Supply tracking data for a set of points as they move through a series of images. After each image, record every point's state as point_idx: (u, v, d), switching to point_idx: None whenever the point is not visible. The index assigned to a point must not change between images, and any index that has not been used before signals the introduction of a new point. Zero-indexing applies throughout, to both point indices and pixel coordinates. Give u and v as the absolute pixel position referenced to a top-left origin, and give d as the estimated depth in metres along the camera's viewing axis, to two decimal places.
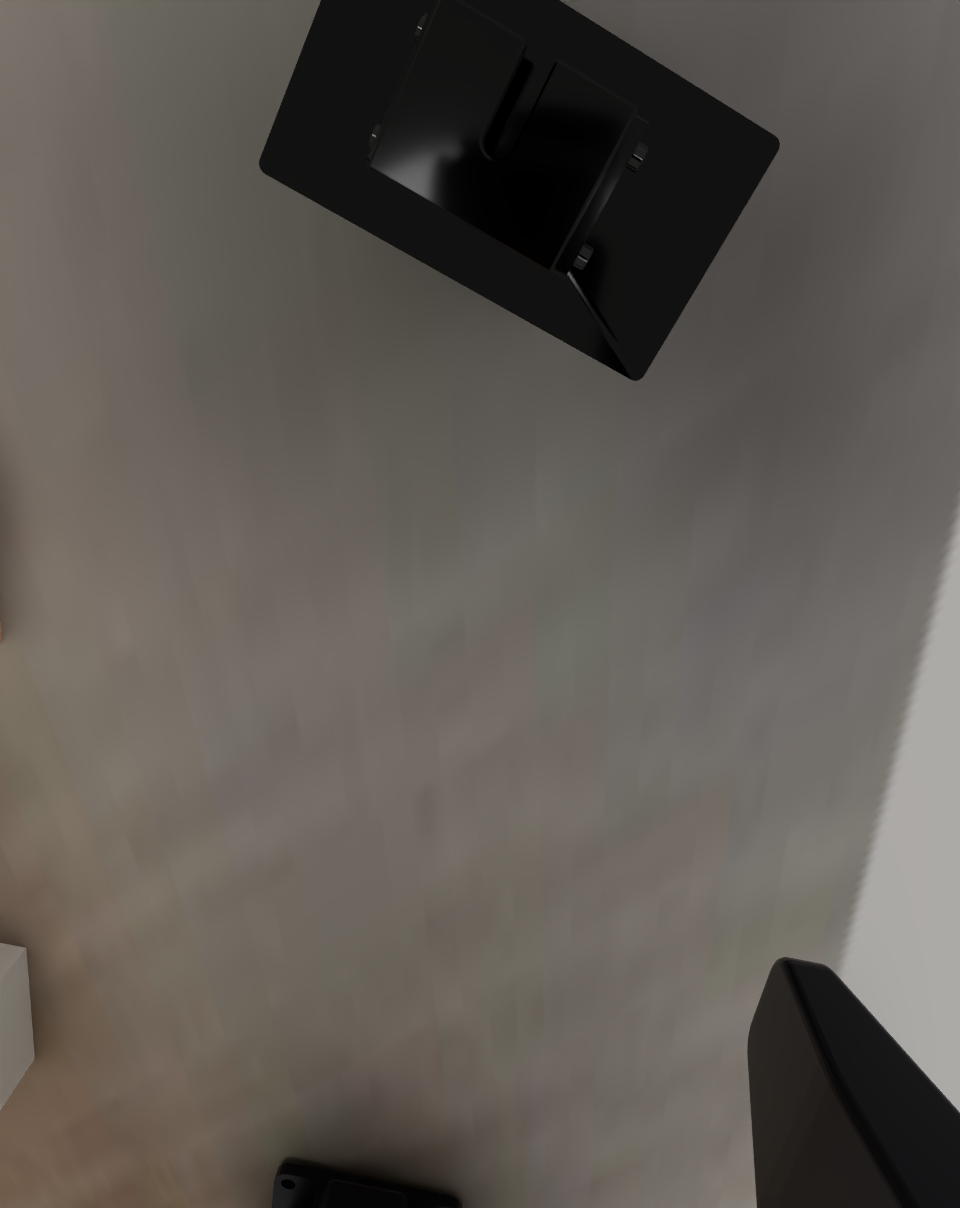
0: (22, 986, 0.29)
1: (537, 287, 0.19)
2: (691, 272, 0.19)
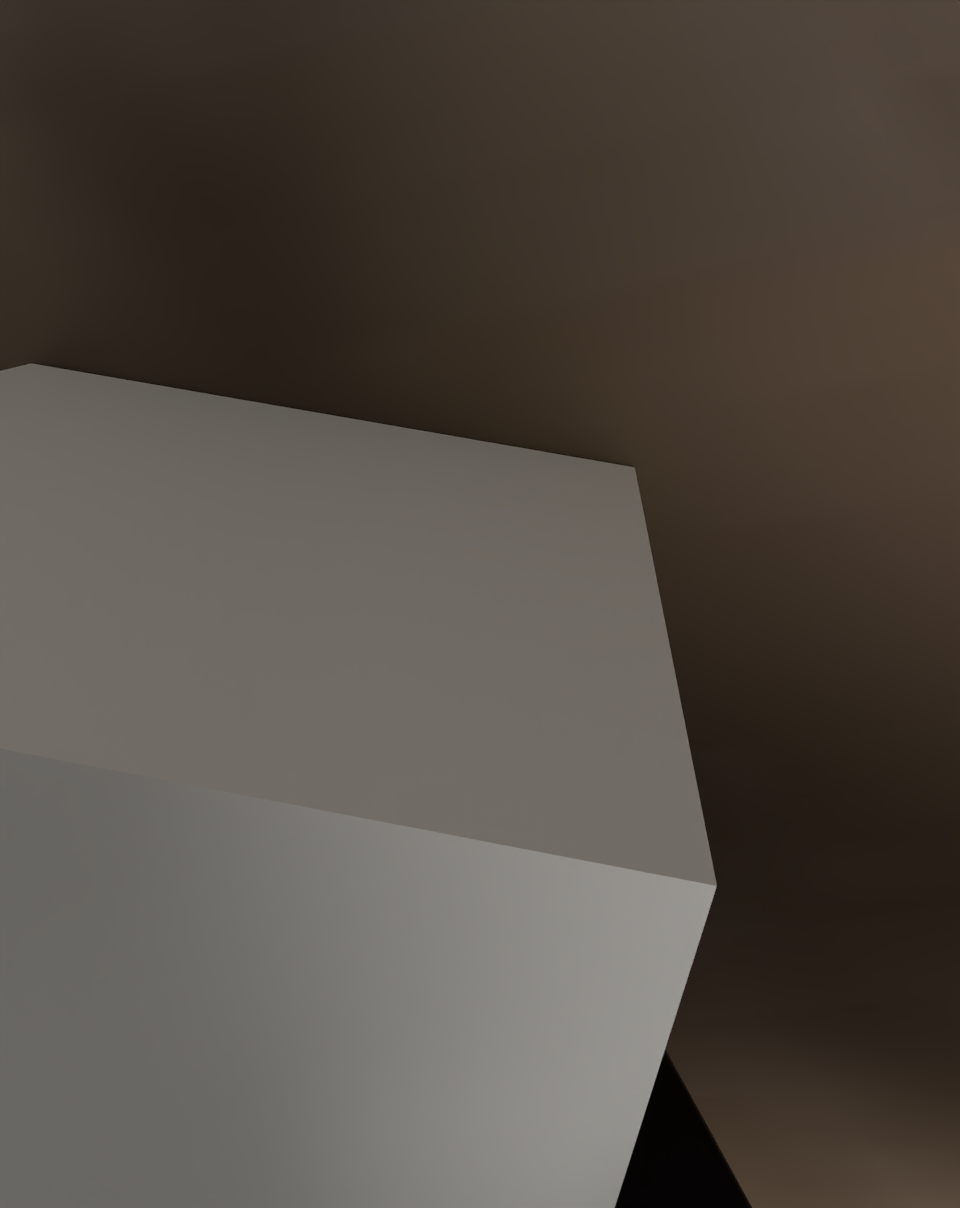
0: (159, 400, 0.07)
1: None
2: None
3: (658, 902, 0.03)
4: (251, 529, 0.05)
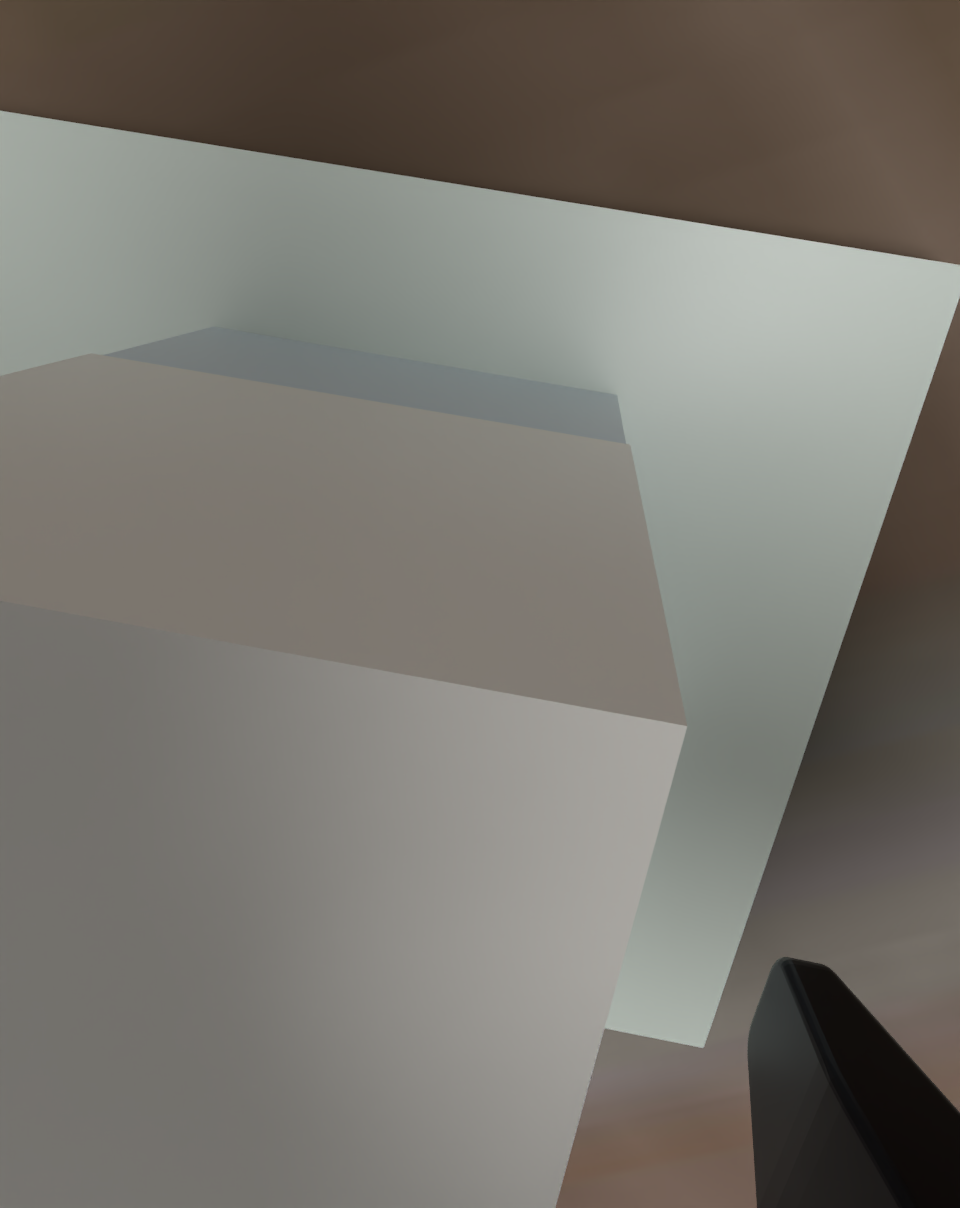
0: (208, 385, 0.08)
1: None
2: None
3: (643, 741, 0.04)
4: (307, 486, 0.06)
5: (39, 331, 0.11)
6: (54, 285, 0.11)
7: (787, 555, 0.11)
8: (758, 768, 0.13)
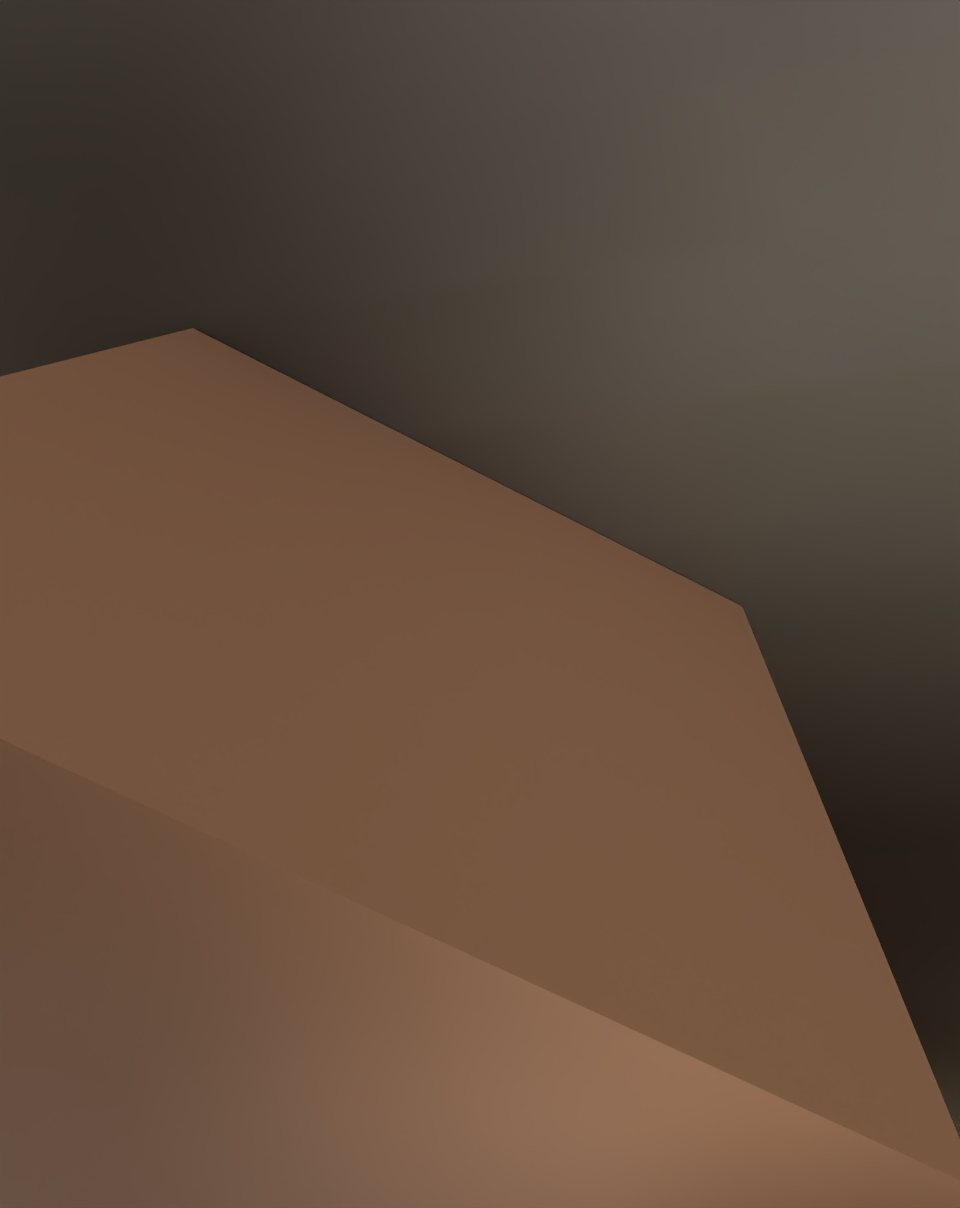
0: None
1: None
2: None
3: None
4: None
5: None
6: None
7: None
8: None
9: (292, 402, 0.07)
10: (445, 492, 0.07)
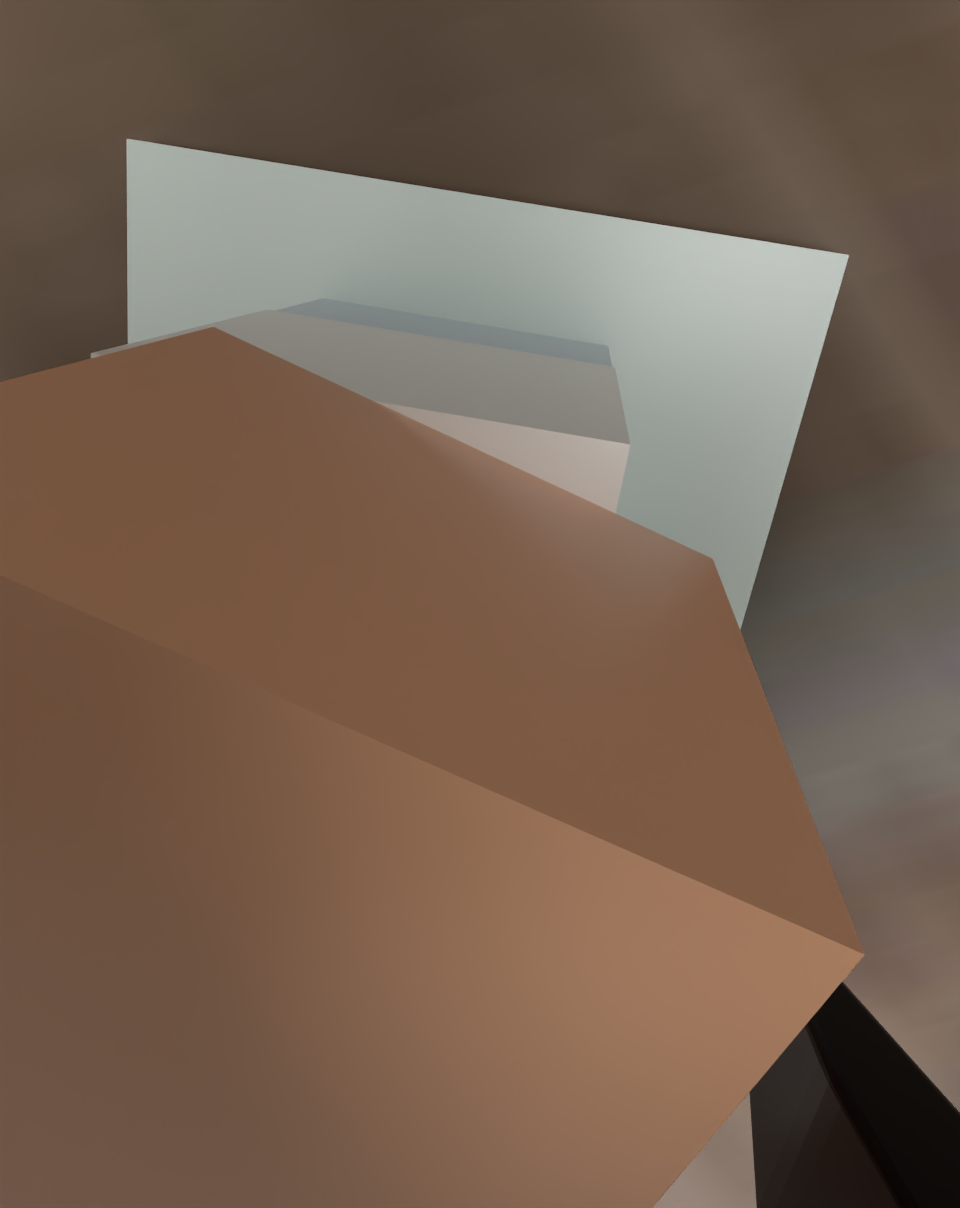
0: (348, 327, 0.12)
1: None
2: None
3: (611, 453, 0.08)
4: (432, 370, 0.10)
5: (197, 302, 0.16)
6: (210, 268, 0.16)
7: (730, 462, 0.16)
8: None
9: (304, 389, 0.08)
10: (442, 461, 0.07)
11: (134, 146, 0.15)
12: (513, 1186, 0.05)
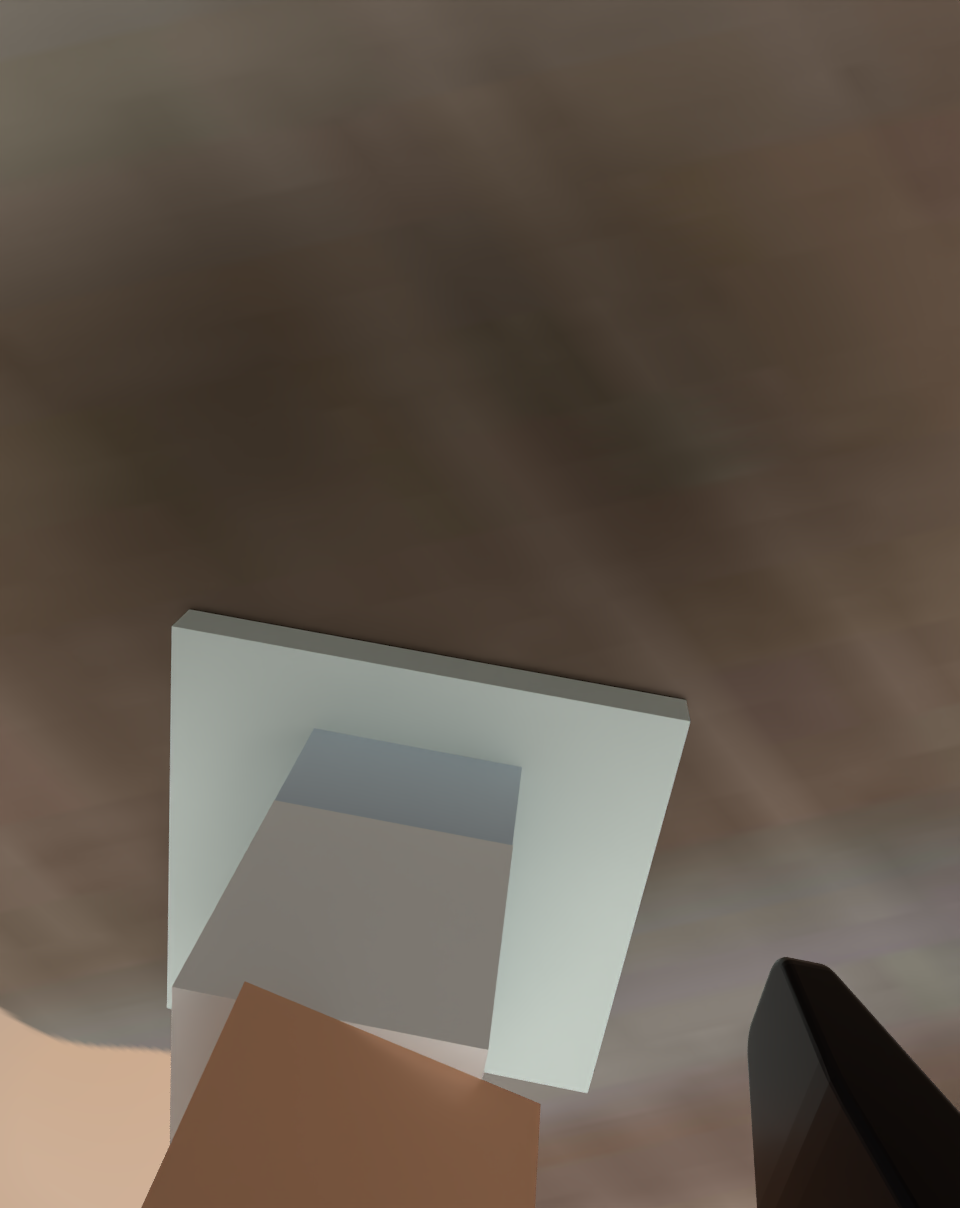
0: (329, 826, 0.18)
1: None
2: None
3: (477, 1052, 0.14)
4: (381, 923, 0.16)
5: (221, 726, 0.22)
6: (231, 706, 0.21)
7: (613, 842, 0.22)
8: (606, 944, 0.23)
9: (297, 1039, 0.13)
10: (375, 1089, 0.13)
11: (177, 630, 0.21)
12: None
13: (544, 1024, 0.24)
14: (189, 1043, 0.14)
